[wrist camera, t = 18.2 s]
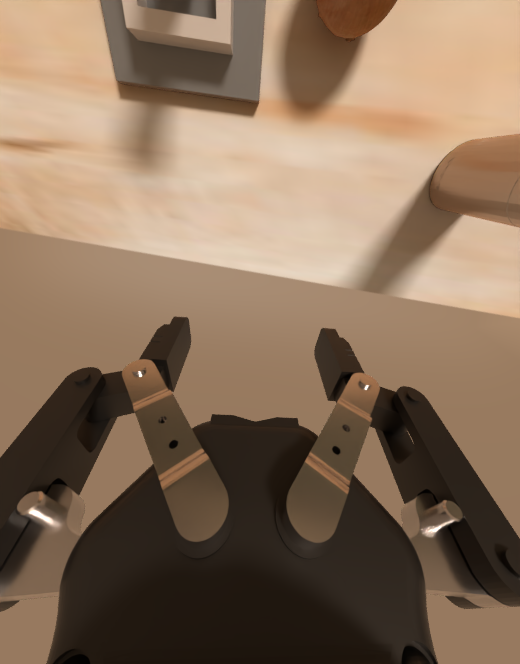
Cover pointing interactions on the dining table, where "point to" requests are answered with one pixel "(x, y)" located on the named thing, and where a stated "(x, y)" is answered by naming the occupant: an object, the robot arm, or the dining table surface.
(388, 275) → the dining table surface
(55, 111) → the dining table surface
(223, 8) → the square socket base
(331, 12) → the onion
